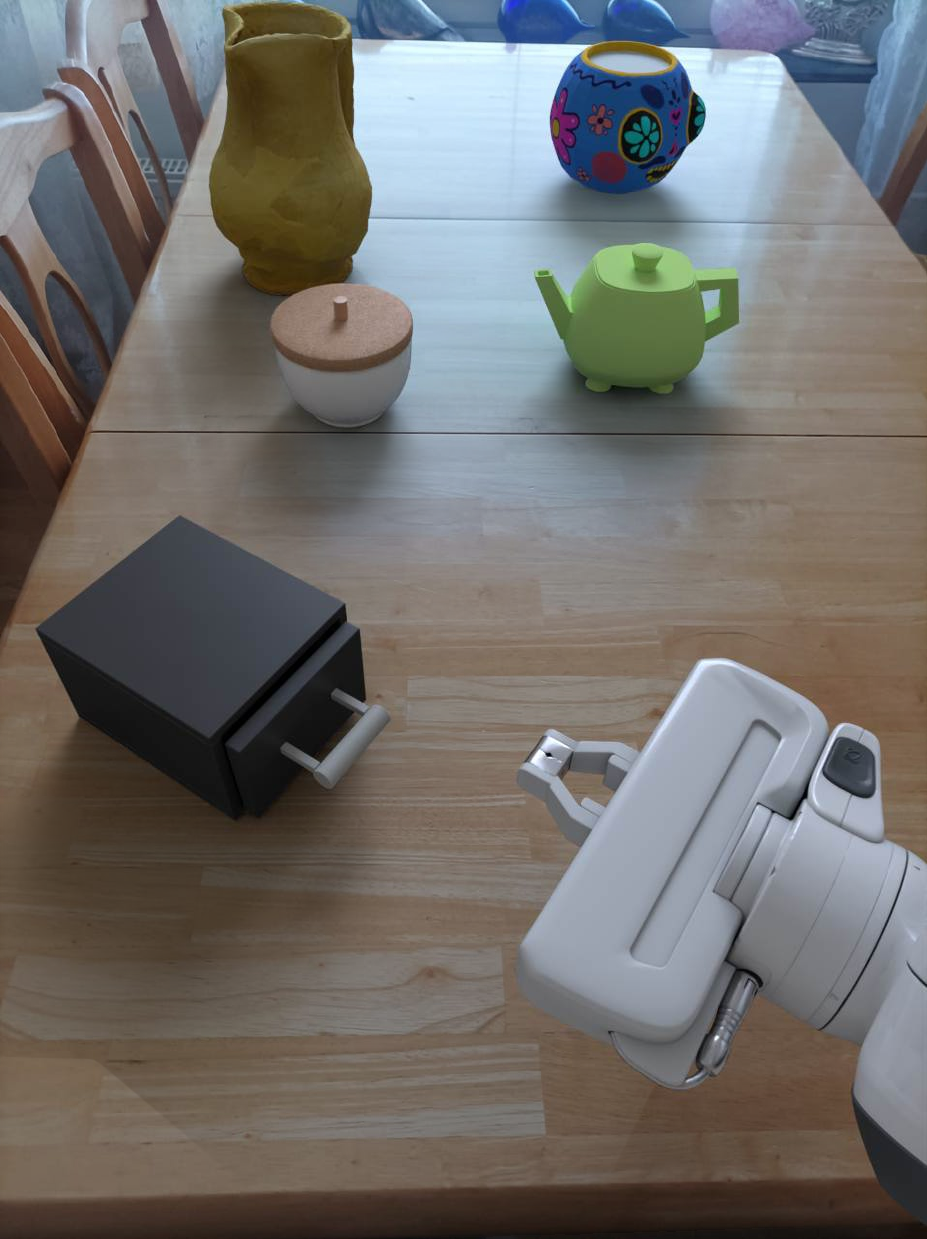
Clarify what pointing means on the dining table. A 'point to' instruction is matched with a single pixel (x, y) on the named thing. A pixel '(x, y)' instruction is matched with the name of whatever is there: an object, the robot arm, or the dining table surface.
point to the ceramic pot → (624, 116)
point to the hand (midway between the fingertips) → (531, 755)
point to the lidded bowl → (343, 351)
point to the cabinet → (184, 649)
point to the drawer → (304, 722)
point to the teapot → (639, 315)
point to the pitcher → (290, 147)
